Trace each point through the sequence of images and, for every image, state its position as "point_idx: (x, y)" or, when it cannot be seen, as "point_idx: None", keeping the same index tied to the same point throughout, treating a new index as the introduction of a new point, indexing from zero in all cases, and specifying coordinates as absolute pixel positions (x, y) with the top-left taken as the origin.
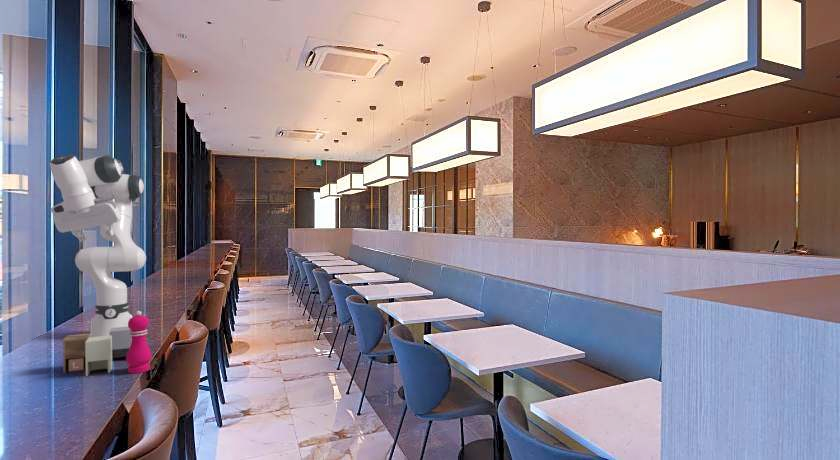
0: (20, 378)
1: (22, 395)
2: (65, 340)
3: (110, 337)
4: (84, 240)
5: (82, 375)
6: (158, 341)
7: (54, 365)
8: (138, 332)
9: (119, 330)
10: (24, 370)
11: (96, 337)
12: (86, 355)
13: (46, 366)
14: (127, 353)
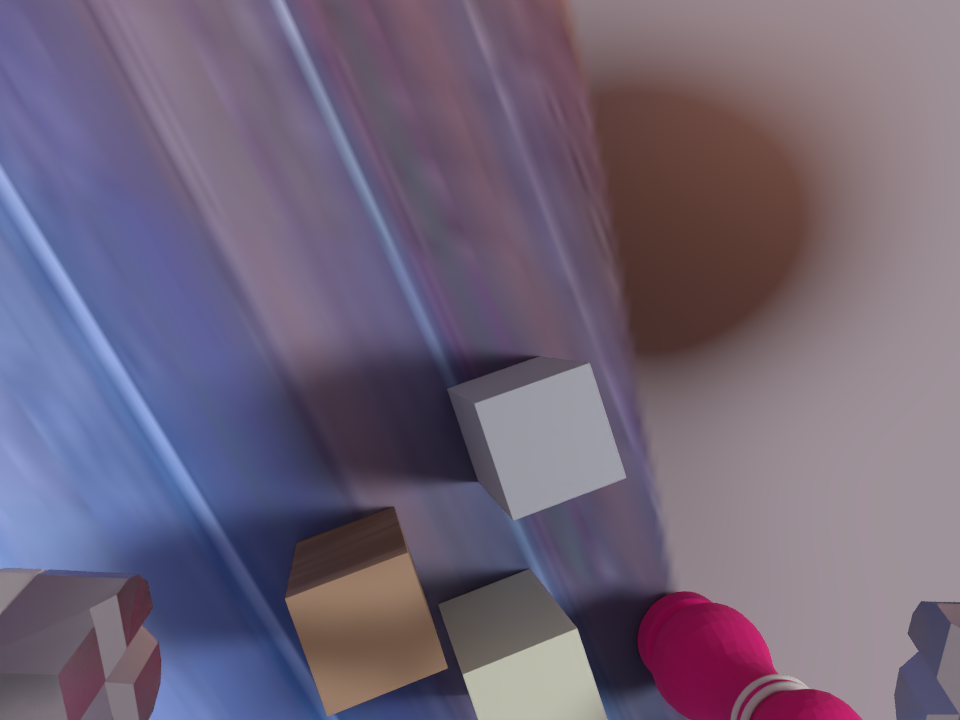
0: (159, 699)
1: None
2: (340, 708)
3: (595, 685)
4: (157, 662)
5: (447, 682)
6: (560, 43)
7: (197, 490)
8: None
9: (563, 493)
10: (84, 563)
11: (509, 676)
12: None
13: (163, 503)
14: (679, 705)
